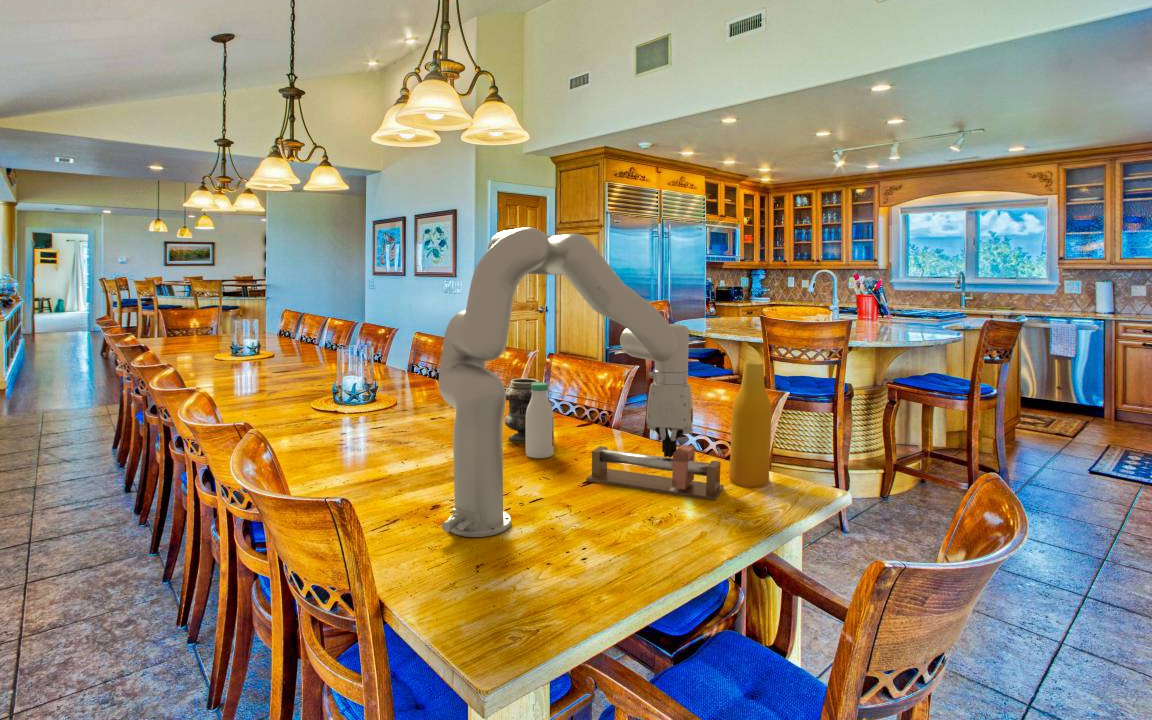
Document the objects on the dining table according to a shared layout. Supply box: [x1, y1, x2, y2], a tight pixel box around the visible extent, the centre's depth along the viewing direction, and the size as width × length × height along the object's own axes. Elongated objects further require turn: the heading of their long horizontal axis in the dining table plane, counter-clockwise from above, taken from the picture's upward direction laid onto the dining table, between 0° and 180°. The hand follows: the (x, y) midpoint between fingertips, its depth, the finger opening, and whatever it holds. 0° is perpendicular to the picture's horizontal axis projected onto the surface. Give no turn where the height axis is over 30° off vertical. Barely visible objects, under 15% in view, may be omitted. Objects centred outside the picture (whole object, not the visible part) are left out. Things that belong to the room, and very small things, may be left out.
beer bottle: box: [728, 361, 773, 489], centre depth 150 cm, size 9×9×29 cm
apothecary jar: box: [503, 377, 540, 444], centre depth 189 cm, size 12×12×18 cm
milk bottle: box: [525, 382, 555, 459], centre depth 172 cm, size 8×8×20 cm
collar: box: [671, 444, 696, 489], centre depth 146 cm, size 8×3×8 cm, turn 155°
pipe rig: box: [586, 445, 724, 502], centre depth 149 cm, size 9×31×7 cm, turn 65°
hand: (669, 455), depth 147 cm, fingers closed
